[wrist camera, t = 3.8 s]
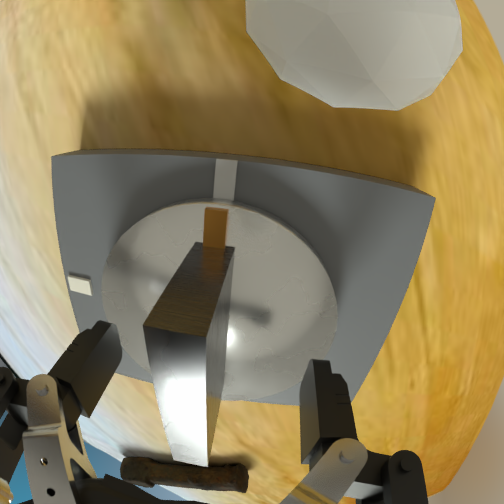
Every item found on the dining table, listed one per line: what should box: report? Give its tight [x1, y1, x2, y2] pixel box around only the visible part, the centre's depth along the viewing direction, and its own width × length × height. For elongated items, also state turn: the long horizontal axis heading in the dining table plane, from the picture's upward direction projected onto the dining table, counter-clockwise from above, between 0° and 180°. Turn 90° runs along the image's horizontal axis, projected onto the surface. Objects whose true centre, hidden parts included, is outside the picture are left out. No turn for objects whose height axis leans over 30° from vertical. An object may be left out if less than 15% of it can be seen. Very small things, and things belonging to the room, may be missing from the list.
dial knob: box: [101, 198, 338, 467], centre depth 10 cm, size 11×11×6 cm
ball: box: [245, 0, 463, 111], centre depth 7 cm, size 8×8×8 cm
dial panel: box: [51, 149, 436, 406], centre depth 14 cm, size 18×14×3 cm
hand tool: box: [120, 457, 249, 493], centre depth 26 cm, size 19×4×5 cm, turn 105°
